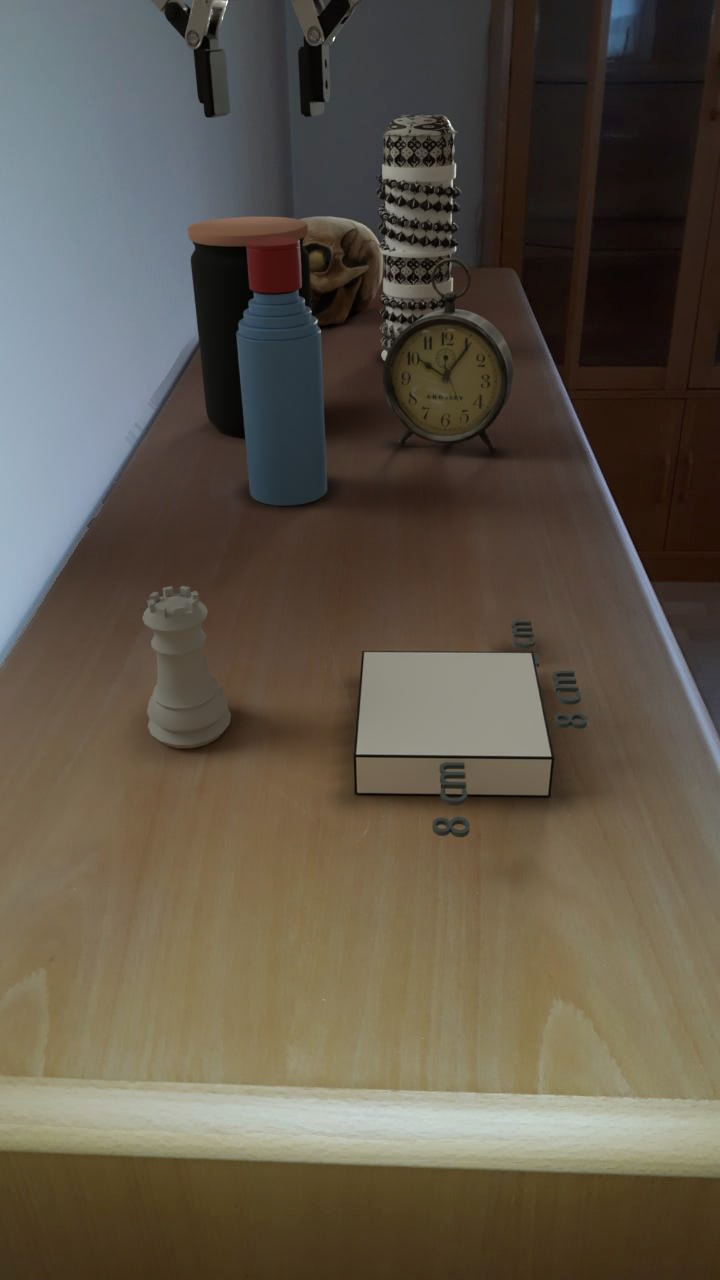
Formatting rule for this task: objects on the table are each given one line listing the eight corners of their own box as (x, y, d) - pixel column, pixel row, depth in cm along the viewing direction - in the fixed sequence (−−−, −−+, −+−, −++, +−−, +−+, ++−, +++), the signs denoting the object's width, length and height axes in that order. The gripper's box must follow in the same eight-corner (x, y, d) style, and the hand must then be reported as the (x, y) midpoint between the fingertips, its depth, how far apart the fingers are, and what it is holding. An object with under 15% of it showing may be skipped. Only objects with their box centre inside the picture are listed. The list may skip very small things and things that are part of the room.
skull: (258, 329, 127) (256, 217, 122) (275, 313, 143) (273, 213, 137) (379, 333, 127) (382, 220, 121) (382, 316, 142) (385, 216, 137)
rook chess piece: (131, 735, 53) (108, 604, 49) (188, 695, 56) (170, 569, 52) (193, 762, 51) (175, 628, 46) (248, 719, 54) (236, 590, 50)
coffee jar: (274, 398, 103) (262, 212, 94) (338, 422, 96) (332, 224, 86) (186, 421, 97) (164, 226, 88) (248, 449, 90) (230, 239, 81)
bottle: (238, 502, 79) (215, 253, 70) (265, 473, 85) (247, 238, 75) (314, 509, 78) (301, 256, 68) (336, 479, 83) (327, 240, 73)
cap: (241, 292, 72) (237, 245, 70) (259, 281, 75) (255, 236, 73) (292, 294, 71) (290, 246, 69) (308, 283, 74) (306, 237, 73)
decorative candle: (361, 356, 116) (356, 117, 103) (417, 342, 121) (419, 112, 108) (415, 372, 110) (418, 119, 97) (472, 356, 115) (481, 114, 102)
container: (366, 637, 61) (365, 599, 59) (552, 638, 60) (556, 600, 59) (348, 873, 44) (346, 828, 42) (609, 878, 43) (616, 832, 42)
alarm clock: (382, 451, 89) (380, 261, 80) (397, 431, 93) (397, 250, 85) (502, 461, 86) (513, 266, 78) (512, 440, 90) (524, 254, 82)
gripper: (400, -228, 59) (400, 111, 68) (136, -204, 63) (170, 113, 72) (369, -259, 53) (374, 118, 62) (79, -231, 57) (124, 120, 66)
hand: (264, 113), depth 67 cm, fingers open, 6 cm apart
